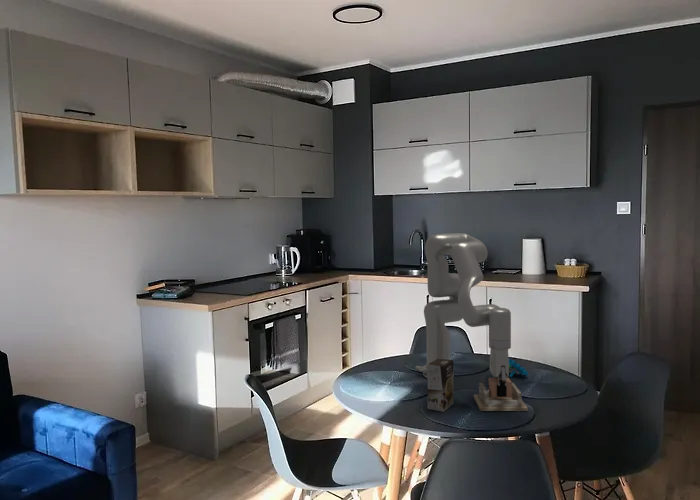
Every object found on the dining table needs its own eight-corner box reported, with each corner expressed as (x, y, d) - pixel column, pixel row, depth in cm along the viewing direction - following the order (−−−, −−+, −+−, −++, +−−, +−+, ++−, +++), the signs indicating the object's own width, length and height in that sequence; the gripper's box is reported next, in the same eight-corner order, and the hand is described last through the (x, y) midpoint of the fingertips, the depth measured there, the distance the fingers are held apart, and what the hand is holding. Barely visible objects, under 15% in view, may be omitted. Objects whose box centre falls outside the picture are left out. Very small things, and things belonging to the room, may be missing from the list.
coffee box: (444, 412, 195) (444, 366, 194) (427, 409, 199) (426, 363, 197) (454, 404, 203) (454, 359, 202) (437, 401, 206) (437, 357, 205)
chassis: (480, 411, 195) (480, 394, 195) (473, 397, 209) (473, 381, 209) (527, 411, 194) (527, 394, 194) (517, 397, 208) (517, 381, 208)
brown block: (491, 397, 199) (491, 382, 199) (488, 392, 204) (488, 377, 204) (511, 397, 199) (511, 382, 198) (508, 392, 204) (508, 377, 203)
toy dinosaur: (533, 374, 230) (516, 358, 229) (525, 386, 229) (508, 370, 227) (519, 371, 241) (502, 355, 239) (511, 382, 239) (494, 366, 238)
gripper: (484, 337, 209) (484, 386, 210) (493, 349, 192) (494, 402, 193) (505, 337, 208) (505, 386, 210) (516, 349, 191) (516, 401, 193)
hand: (499, 393), depth 201 cm, fingers closed on brown block, 5 cm apart
